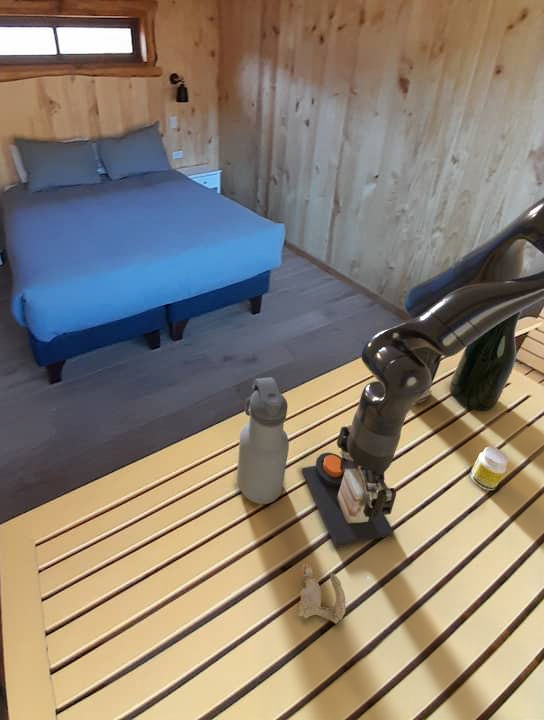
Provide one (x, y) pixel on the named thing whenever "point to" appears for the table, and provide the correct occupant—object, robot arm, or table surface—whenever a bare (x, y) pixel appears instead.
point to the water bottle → (263, 444)
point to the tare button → (332, 466)
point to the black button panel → (330, 510)
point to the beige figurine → (313, 598)
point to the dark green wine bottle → (486, 367)
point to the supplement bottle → (489, 468)
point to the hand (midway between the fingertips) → (356, 490)
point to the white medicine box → (353, 497)
